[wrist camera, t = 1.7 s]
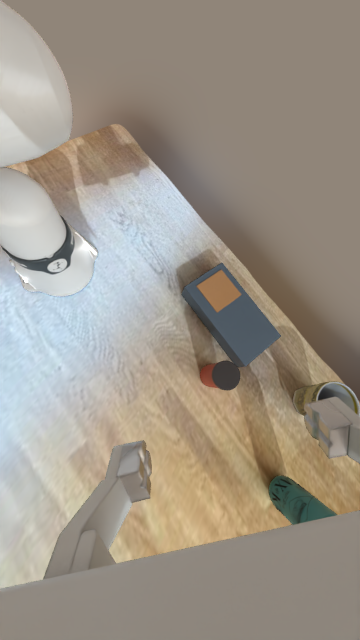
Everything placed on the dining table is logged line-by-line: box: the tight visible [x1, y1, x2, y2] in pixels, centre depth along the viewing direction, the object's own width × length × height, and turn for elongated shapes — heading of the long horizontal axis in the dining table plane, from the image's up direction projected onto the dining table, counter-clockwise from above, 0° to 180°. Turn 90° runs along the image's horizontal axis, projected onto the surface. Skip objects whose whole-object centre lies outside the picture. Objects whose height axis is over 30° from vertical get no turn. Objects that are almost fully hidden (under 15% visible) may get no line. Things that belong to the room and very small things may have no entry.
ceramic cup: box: [293, 381, 360, 441], centre depth 48 cm, size 13×10×10 cm
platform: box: [182, 263, 281, 367], centre depth 54 cm, size 23×12×5 cm, turn 37°
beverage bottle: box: [269, 476, 337, 525], centre depth 38 cm, size 6×7×20 cm
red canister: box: [200, 361, 240, 390], centre depth 47 cm, size 6×6×11 cm
